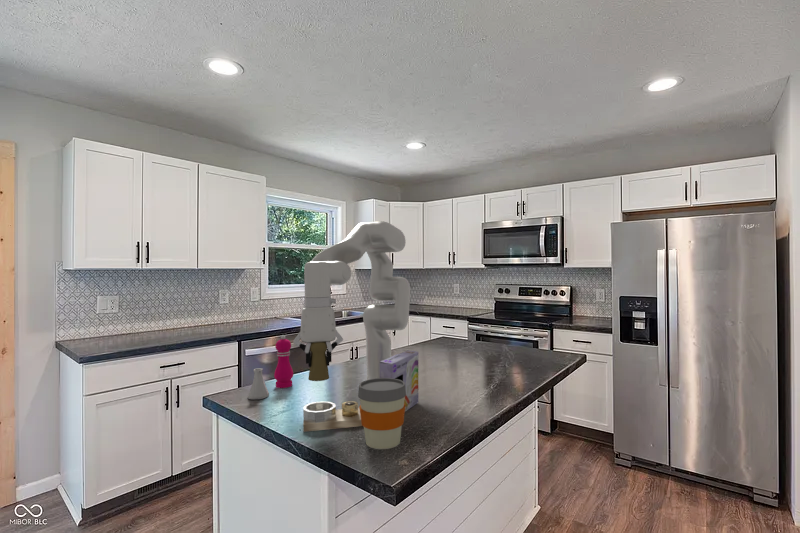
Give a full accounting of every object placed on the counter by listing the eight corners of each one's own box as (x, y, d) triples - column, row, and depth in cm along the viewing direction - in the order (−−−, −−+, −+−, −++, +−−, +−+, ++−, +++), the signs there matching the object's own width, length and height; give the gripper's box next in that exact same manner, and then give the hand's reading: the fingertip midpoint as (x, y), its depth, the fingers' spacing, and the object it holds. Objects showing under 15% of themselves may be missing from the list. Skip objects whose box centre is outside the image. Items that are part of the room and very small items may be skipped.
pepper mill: (283, 389, 154) (282, 337, 154) (270, 387, 158) (269, 335, 158) (297, 384, 160) (296, 334, 160) (284, 382, 164) (283, 333, 164)
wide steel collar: (334, 410, 124) (334, 400, 124) (336, 420, 115) (336, 410, 115) (303, 412, 122) (303, 403, 122) (303, 424, 113) (303, 413, 113)
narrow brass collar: (357, 410, 123) (357, 400, 123) (359, 416, 119) (358, 405, 119) (341, 412, 122) (341, 401, 122) (342, 417, 118) (342, 406, 118)
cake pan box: (391, 423, 118) (390, 362, 118) (376, 420, 121) (375, 361, 121) (420, 403, 135) (419, 350, 135) (407, 401, 137) (406, 349, 138)
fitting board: (363, 413, 126) (363, 407, 126) (367, 425, 117) (367, 418, 117) (304, 419, 123) (304, 412, 123) (303, 431, 113) (303, 424, 113)
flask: (262, 400, 141) (262, 372, 141) (243, 399, 143) (243, 371, 143) (272, 394, 148) (272, 367, 148) (255, 393, 150) (254, 366, 150)
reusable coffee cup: (369, 430, 113) (368, 376, 113) (412, 434, 110) (411, 379, 110) (351, 449, 101) (350, 389, 101) (399, 455, 98) (397, 392, 98)
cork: (333, 376, 121) (332, 339, 121) (322, 381, 115) (322, 343, 115) (315, 375, 123) (314, 338, 123) (304, 380, 117) (303, 342, 117)
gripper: (345, 301, 124) (346, 360, 124) (288, 303, 121) (289, 364, 121) (347, 303, 117) (348, 366, 117) (287, 305, 114) (288, 370, 113)
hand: (318, 364), depth 119 cm, fingers closed on cork, 4 cm apart
